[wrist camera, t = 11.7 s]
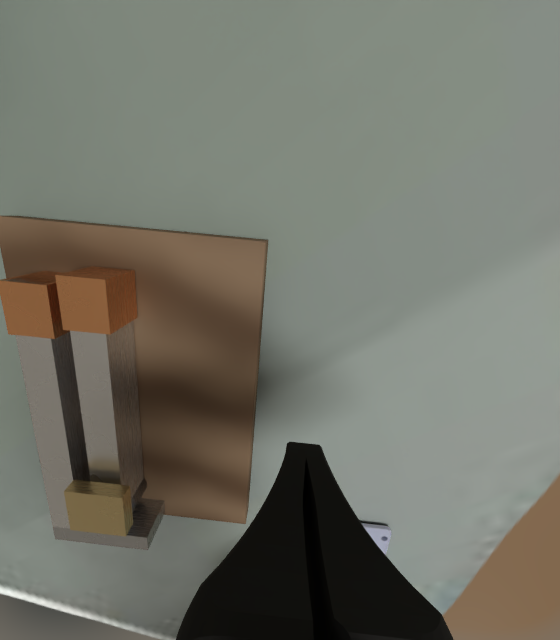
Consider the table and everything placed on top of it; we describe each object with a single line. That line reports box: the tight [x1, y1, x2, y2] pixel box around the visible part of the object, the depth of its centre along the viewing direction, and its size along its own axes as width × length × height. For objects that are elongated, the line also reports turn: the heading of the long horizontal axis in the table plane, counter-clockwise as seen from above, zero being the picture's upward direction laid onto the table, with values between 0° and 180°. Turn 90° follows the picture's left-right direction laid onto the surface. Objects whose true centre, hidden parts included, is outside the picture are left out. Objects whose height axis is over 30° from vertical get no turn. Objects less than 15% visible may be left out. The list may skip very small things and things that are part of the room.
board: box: [0, 216, 268, 524], centre depth 22 cm, size 22×16×2 cm
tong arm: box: [55, 266, 147, 514], centre depth 20 cm, size 18×3×3 cm, turn 175°
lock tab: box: [64, 479, 133, 537], centre depth 20 cm, size 3×4×1 cm
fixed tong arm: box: [0, 271, 165, 550], centre depth 20 cm, size 19×7×3 cm, turn 175°
